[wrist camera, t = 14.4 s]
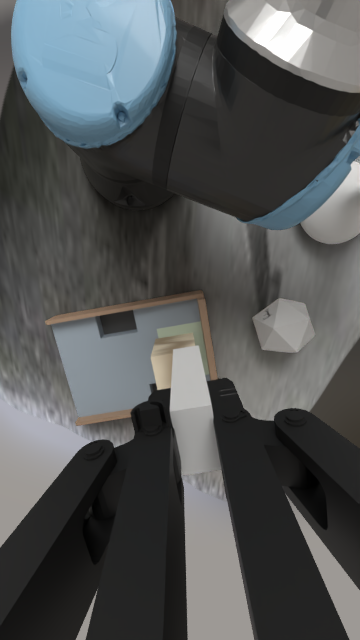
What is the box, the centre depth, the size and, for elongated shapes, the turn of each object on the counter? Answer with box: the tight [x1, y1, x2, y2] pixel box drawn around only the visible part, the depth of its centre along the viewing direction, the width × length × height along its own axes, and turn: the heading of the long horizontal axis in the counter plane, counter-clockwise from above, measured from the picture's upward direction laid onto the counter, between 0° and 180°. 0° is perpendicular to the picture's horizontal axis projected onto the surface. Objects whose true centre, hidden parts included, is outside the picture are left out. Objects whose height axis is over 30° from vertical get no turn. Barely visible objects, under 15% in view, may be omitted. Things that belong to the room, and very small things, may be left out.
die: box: [252, 298, 315, 353], centre depth 42 cm, size 8×9×10 cm
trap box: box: [45, 290, 218, 426], centre depth 45 cm, size 24×18×6 cm
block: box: [151, 333, 195, 390], centre depth 41 cm, size 6×6×8 cm
